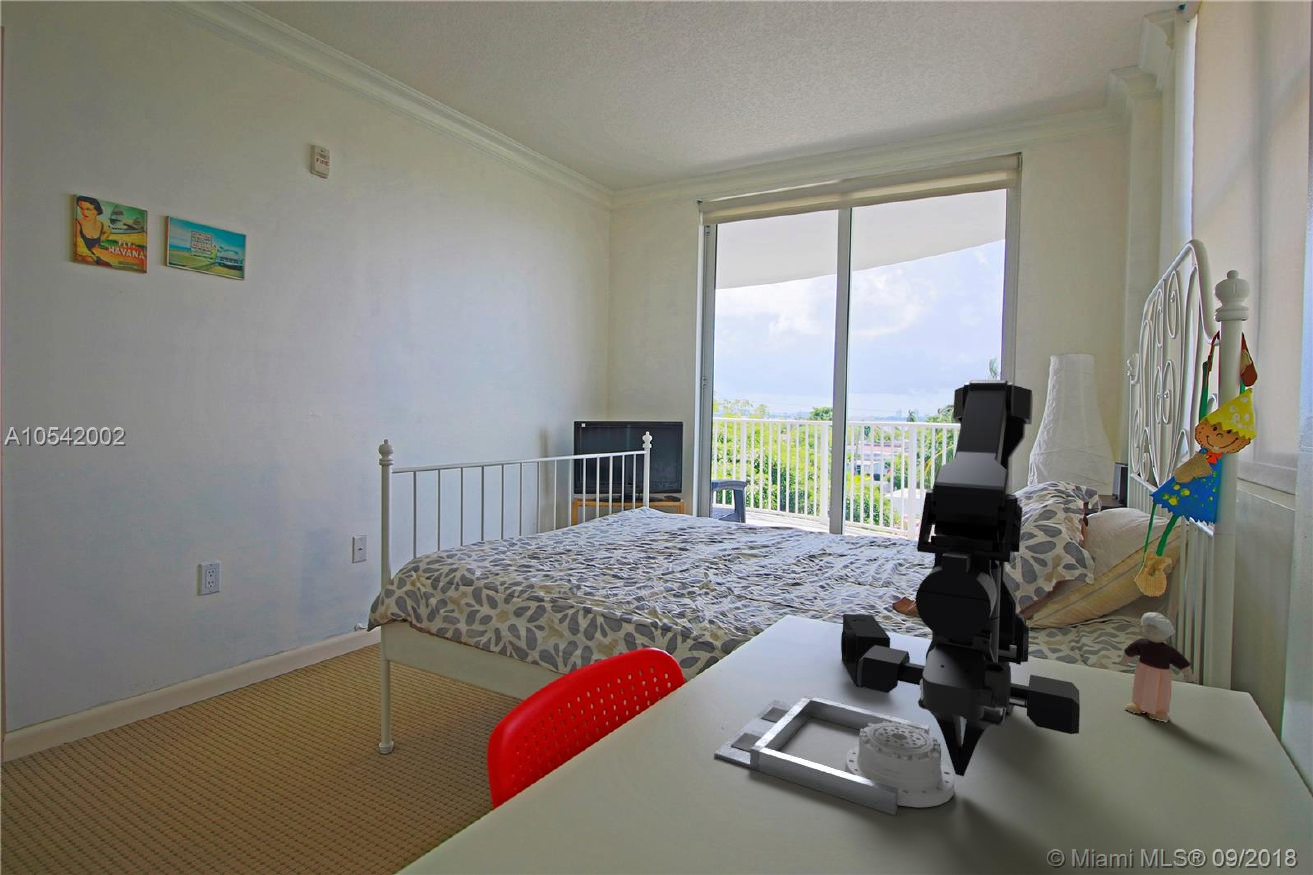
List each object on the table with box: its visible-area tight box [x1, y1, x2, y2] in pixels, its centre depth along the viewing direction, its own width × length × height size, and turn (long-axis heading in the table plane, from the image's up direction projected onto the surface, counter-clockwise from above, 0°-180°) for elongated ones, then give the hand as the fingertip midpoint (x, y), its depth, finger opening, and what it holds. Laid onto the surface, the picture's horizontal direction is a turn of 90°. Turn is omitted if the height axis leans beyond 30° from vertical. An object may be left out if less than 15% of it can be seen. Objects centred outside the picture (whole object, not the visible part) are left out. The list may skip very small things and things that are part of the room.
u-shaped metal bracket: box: [713, 694, 930, 816], centre depth 71 cm, size 16×18×2 cm
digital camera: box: [840, 613, 891, 689], centre depth 93 cm, size 10×5×7 cm, turn 174°
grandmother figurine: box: [1118, 611, 1196, 721], centre depth 82 cm, size 8×4×13 cm, turn 47°
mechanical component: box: [844, 721, 955, 808], centre depth 65 cm, size 10×4×10 cm
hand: (960, 774), depth 64 cm, fingers closed
